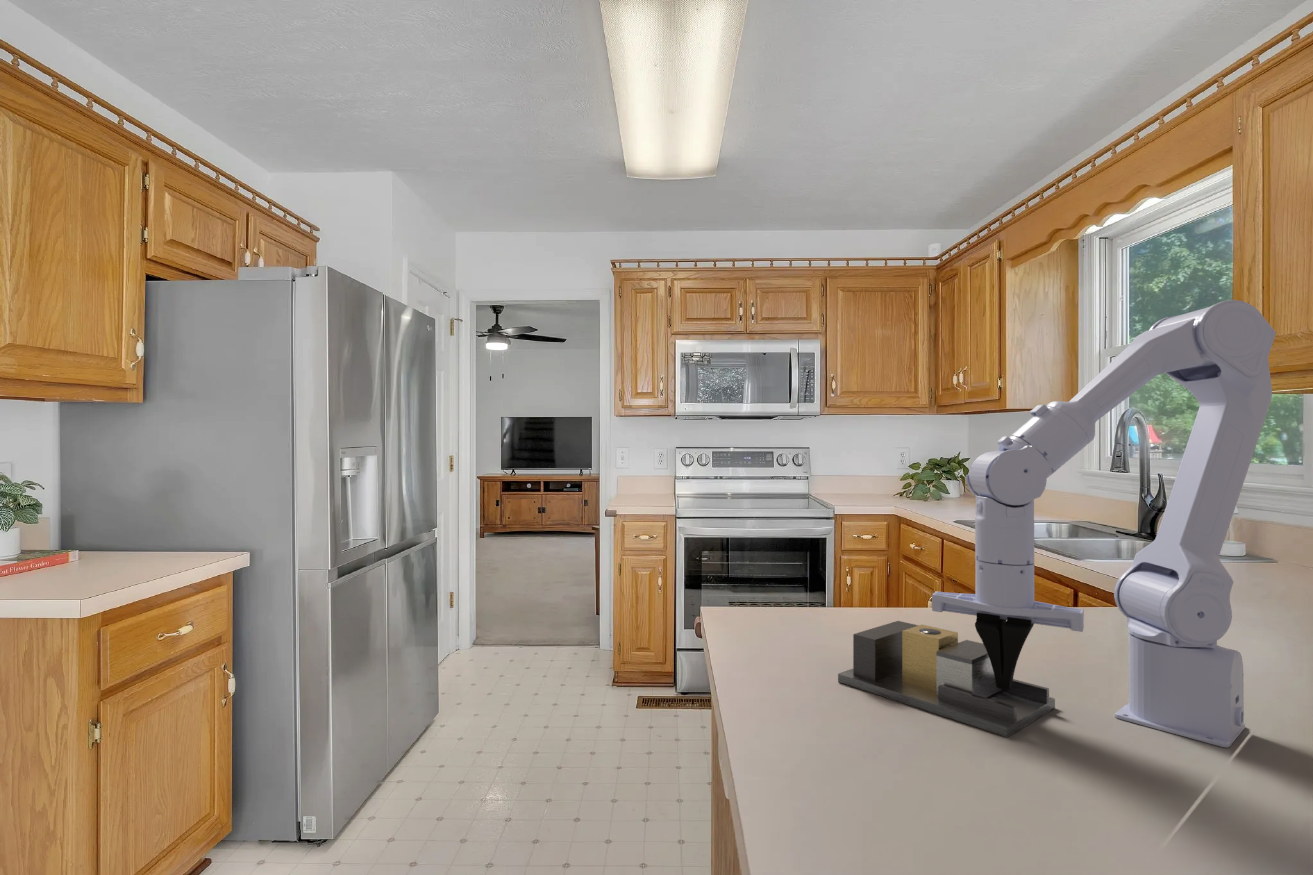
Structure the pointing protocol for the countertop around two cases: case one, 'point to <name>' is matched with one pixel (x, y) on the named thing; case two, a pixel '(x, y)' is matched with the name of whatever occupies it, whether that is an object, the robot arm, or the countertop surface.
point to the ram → (966, 669)
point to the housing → (923, 653)
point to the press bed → (883, 676)
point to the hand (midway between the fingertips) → (1004, 686)
